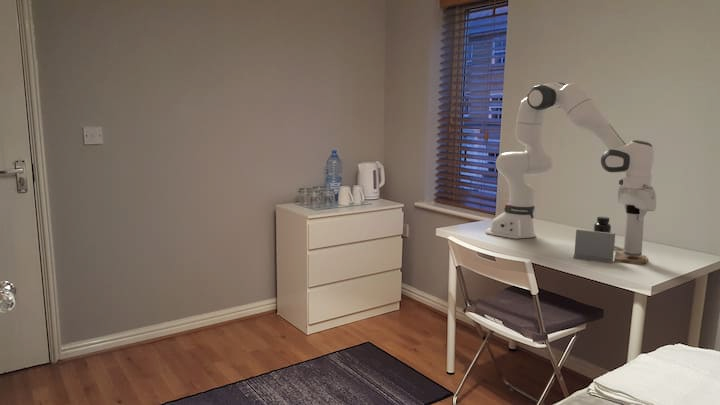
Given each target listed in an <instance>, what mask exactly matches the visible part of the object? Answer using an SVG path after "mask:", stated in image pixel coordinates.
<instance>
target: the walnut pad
mask: <svg viewBox="0 0 720 405" xmlns="http://www.w3.org/2000/svg"><path fill="white" fill-rule="evenodd" d="M613 262H617V263H627V264H634V265H640V266H641V265H642V266H647V255H643V254H642V255H640V256H629V255H626V254H624V252H617V251H616V252H615V255H614V258H613Z"/></svg>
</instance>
